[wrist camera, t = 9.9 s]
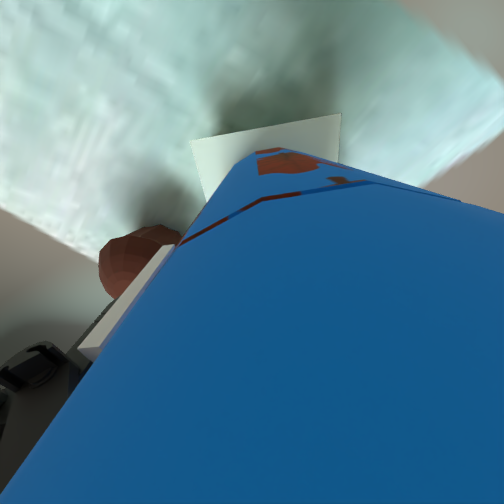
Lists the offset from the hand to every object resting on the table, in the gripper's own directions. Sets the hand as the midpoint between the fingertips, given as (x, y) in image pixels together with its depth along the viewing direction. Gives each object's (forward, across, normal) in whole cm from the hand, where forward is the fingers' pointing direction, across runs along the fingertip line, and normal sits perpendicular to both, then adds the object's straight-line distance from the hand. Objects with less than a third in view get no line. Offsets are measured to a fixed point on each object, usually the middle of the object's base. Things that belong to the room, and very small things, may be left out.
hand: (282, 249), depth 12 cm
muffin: (+17, -18, -7) cm, 26 cm away
